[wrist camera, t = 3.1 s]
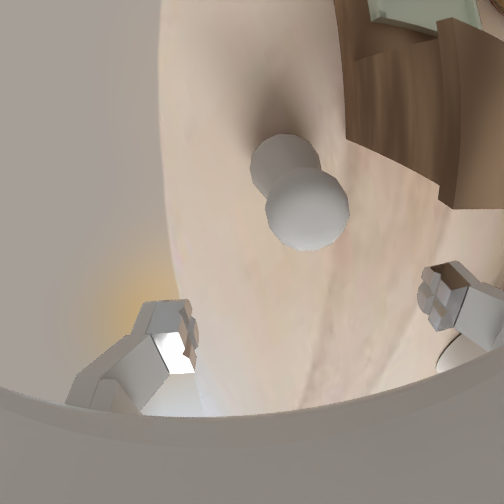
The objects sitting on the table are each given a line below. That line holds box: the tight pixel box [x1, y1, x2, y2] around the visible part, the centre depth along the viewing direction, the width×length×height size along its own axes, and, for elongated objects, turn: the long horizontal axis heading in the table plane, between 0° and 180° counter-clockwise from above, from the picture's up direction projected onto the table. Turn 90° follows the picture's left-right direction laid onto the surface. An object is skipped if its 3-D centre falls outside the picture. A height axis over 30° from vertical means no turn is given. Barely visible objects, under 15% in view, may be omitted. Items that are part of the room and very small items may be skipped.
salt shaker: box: [250, 134, 350, 251], centre depth 19 cm, size 6×6×13 cm
